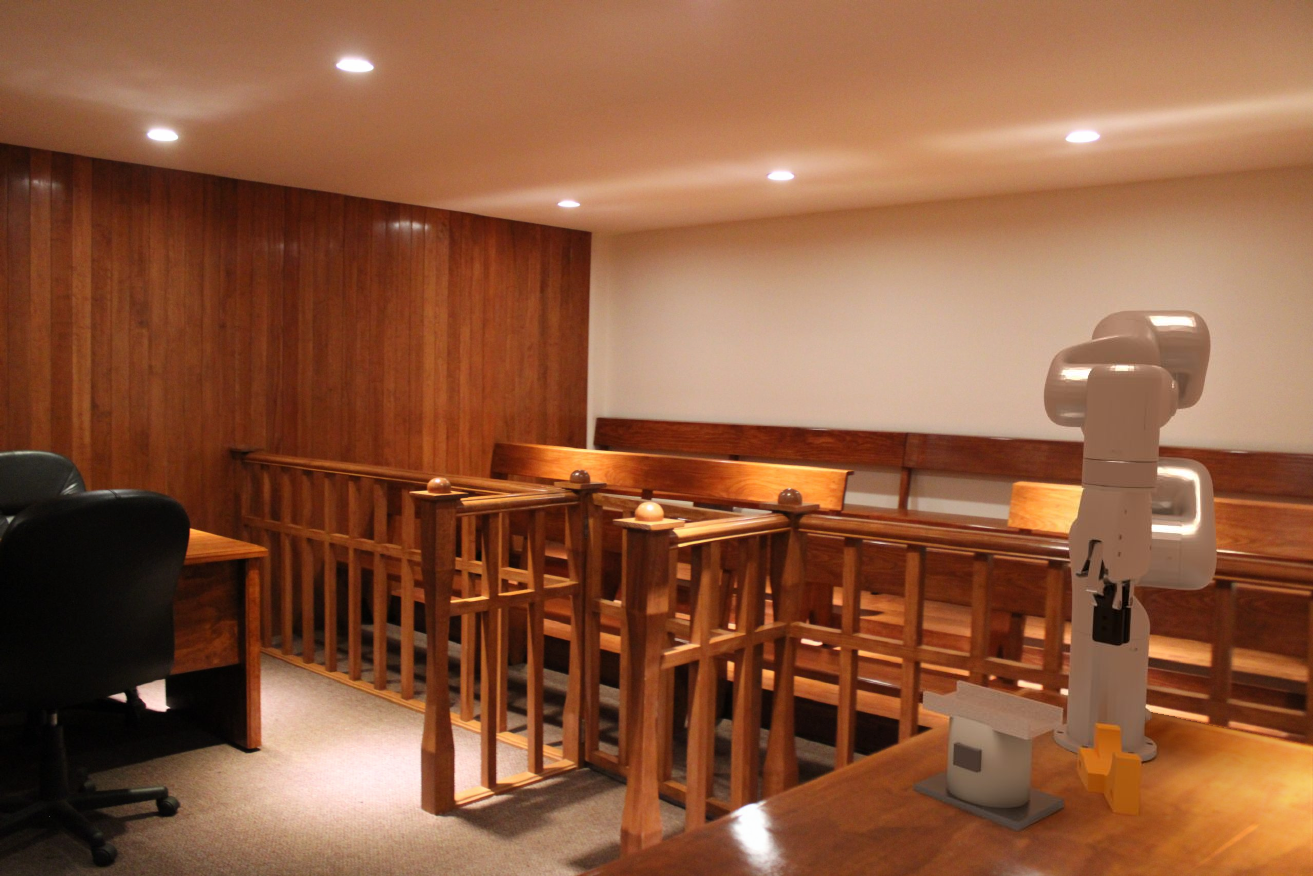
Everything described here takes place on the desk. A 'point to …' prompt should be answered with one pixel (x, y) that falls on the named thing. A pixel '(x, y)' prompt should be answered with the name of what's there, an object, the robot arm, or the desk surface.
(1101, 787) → the pipe clamp
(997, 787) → the cylinder with tray top
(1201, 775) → the desk surface
